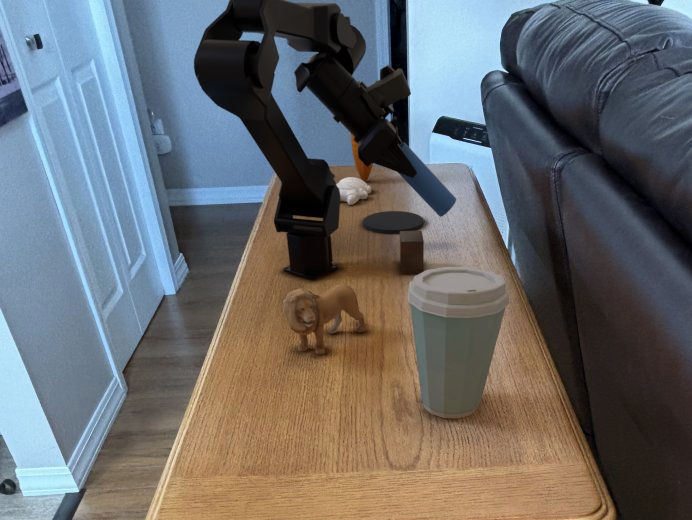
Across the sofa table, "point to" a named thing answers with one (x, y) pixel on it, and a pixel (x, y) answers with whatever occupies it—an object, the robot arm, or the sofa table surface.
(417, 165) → the tube
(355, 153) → the carrot
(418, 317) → the disposable coffee cup
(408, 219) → the coaster
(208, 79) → the robot arm
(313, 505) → the sofa table surface
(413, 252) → the lean block
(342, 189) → the white turtle figurine
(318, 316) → the lion figurine
